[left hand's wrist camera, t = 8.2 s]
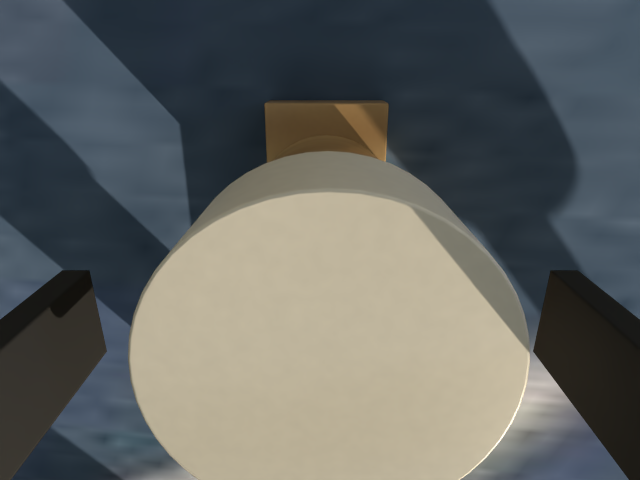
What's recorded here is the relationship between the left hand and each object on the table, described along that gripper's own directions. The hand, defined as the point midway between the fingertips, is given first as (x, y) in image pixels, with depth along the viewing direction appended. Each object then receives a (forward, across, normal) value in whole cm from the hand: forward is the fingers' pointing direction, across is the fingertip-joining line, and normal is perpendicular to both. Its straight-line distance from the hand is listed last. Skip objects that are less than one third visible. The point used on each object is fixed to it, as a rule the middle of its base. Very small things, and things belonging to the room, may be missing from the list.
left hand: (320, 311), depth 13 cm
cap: (+1, 0, 0) cm, 1 cm away
